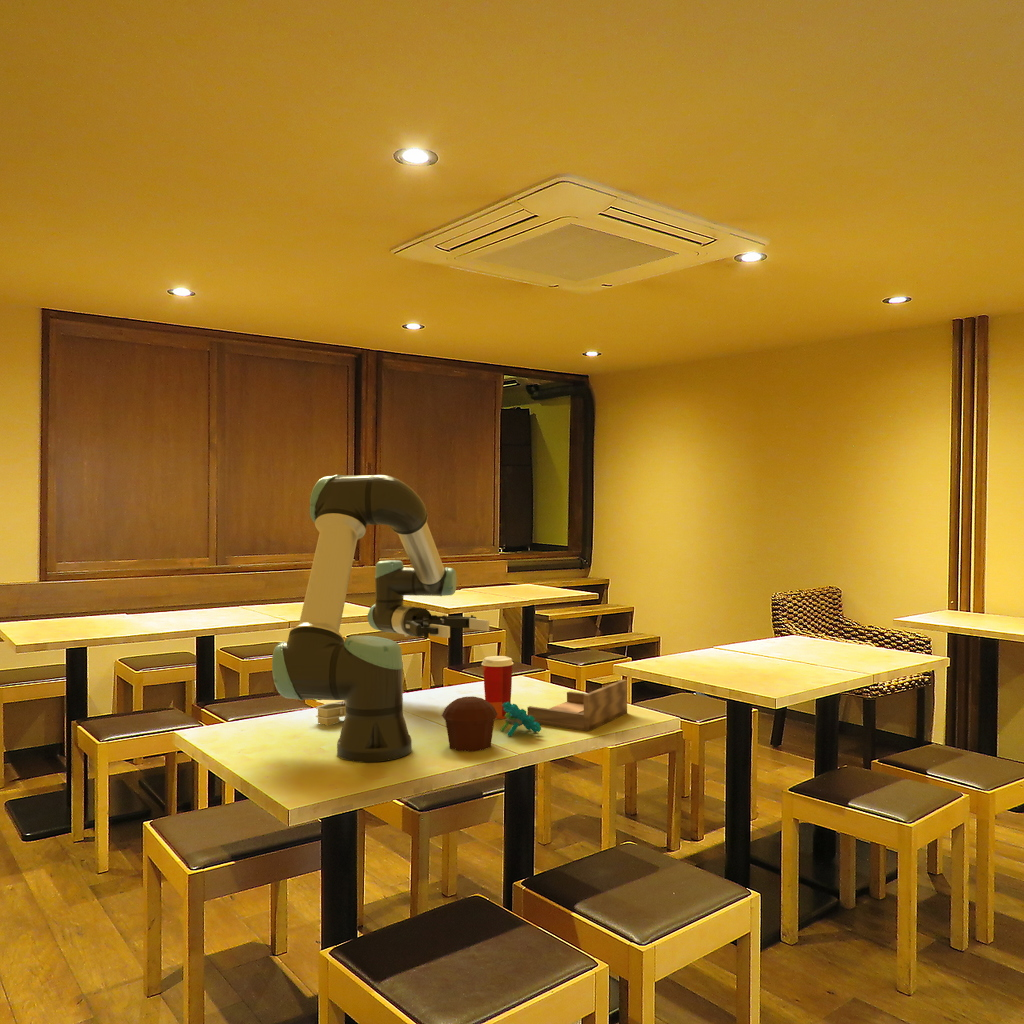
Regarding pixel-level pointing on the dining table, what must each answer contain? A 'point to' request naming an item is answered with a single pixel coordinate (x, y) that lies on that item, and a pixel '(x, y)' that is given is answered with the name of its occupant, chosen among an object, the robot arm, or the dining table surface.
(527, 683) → the dining table surface
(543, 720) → the bay
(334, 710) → the tan layered block
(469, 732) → the muffin
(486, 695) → the paper cup
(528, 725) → the teal toy figurine
